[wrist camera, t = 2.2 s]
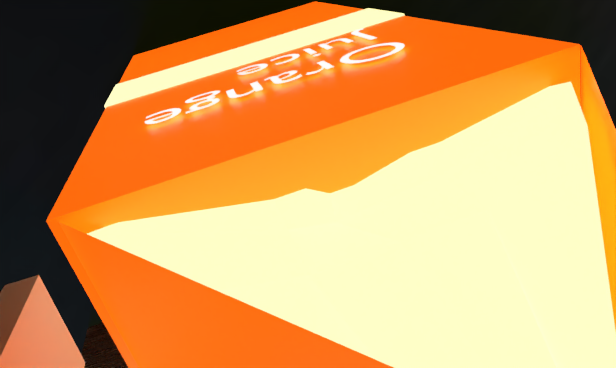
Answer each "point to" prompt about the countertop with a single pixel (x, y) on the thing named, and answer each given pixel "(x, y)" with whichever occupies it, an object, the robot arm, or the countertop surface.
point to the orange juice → (350, 199)
